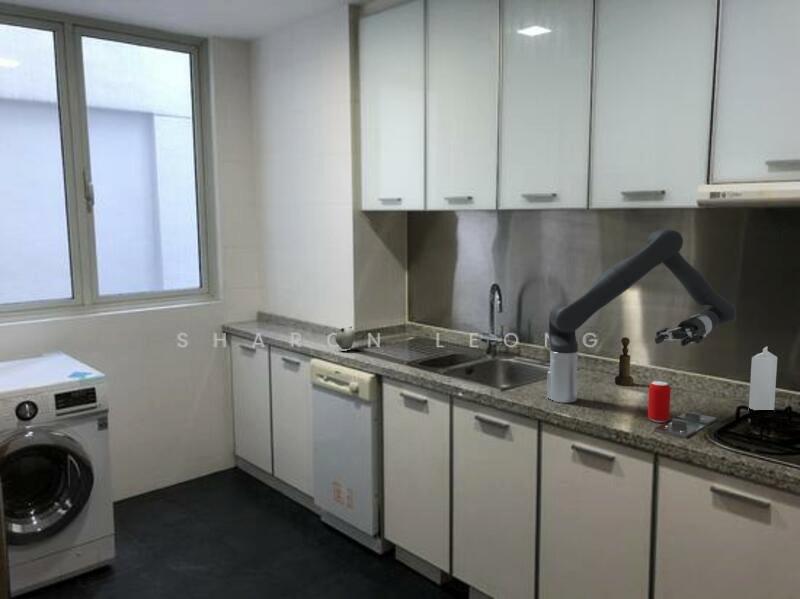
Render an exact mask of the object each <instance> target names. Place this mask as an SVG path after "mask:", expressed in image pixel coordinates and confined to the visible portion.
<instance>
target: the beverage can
mask: <svg viewBox="0 0 800 599" xmlns="http://www.w3.org/2000/svg"><path fill="white" fill-rule="evenodd" d="M671 392H672V390H671V387H670V385H669V383H668V382H666V381H660V380H659V381H658V380H654V381H652V382H651V383H650V384H649V386H648V404H647V406H648V408H647V418H648V420H651V421H652V422H653V423H657V424H658V423H660V424H661V423H662V424H664V423H666V422H668V421H670V410H671V407H670V406H671Z"/></svg>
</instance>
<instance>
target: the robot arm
mask: <svg viewBox="0 0 800 599" xmlns="http://www.w3.org/2000/svg"><path fill="white" fill-rule="evenodd" d="M646 244H647V245H646V246H645V247H644V248H643V249H641V250H640V251H638V252H637V253H635V254H633V255H631V256H628V257H626V258H624V259H623V260H620V261H618V262H617V263H615V264H614V265H612V266H611V267H609V268H608V269H607V270H606V271H604V272H603V273H601V274H600V275H599V276H598V277H597V278H596V279H595V280H594V281H593V283H592V284H591V285H590V286H589V288H588V289H587V291H586V292H585V293H583V294H582V295H581V296H580V297H578V298H577V299H575V300H574V301H572V302H571V303H569V304H566V303H560V304H557V305H555V306H554V307H552V309H551V311H550V312H549V315H548V316H549V318H548V341H549V345H550V346H549V347H550V350H549V351H550V353H549V356H550V357H549V362H550V364H549V367H550V368H549V371H547V375H546V376H547V377H546V379H547V380H546V382H547V383H546V384H547V385H546V399H548V398H549V399H548V400H550V399H551V400H550V401H552V400H553V401H552V402H556V403H573V402H574V403H575V402H577V401H578V400H577V396H578V394H577V393H578V368H579V367H578V362H579V361H578V358H579V343H578V340H577V337H576V331H577V330H578V329H579V328H580V327H581V326H583V324H585V323H586V322H587V321H588V320H589V319H590V318H591V317H592V316H593V315H594V314H595V313H597V312H598V311H599V310H601V309H602V308H604V307H605V306H607V305H608V304H609V303H610V302H613V300H615V299H616V298H618V297H619V296H620V295H622V294H623V293H624V292H626V291H627V290H628V289H630V288H632V286H633V285H634V284H636V283H637V282H638V281H640V280H641V279H643V277H645V276H646V275H647V274H648V273H649V272H650V271H652V270H653V269H654V268H656V267H657V266H659V265H661V264H663V265H664V266H665V267H666V268H667V269H668V270H669V271H670V272H671V273H672V274H673V275H674V276H675V277H676V279H677V280H678V281H679V282H680V284H681V285H682V286H683V288H684V289H685V290H686V292H687V293H688V295H690V297H691V298H692V299H693V300H694V303H696V304H697V305H698V306H709V307H706V308H705V309H703V310H701V311H700V312H699V313H697V314H693V315H691V316H690V317H688V318H686V319H683V320H682V321H680V322H679V323H678V325H677V327H675V328H672V329H669V327H664V328H662V329H660V330H658V331H656V332H655V334H656V336H655V337H654V342H655V344H661V343H662V342H665V341H669V342H672V341H680V346H682V347H685V346H687V345H689V344H694V342H695V344H700V343H702V342H703V341H704V340H706V339H707V335H708V334H709V333H711V332H713V331H714V330H715V329H717V328H718V326H721V325H725V324H727V323H730V322H733V321H734V320H736V318H737V310H736V308H735V306H734V305H733V304H732V303H731V302H730V301H729V300H727V299H726V298H725V297H723V296H722V295H721V294H719V293H718V292H717V291H716V290H714V288H713V287H712V286H711V284H710V283H709V282H708V280H707V279H706V278H705V277H704V275H702V273H700V272H699V271H698V270H697V269H696V268H694V267H693V266H692V265H691V263H689V262H688V261H687V260H686V259H685V258H684V257H683V255H682V254H681V253H680V251H681V249H682V248H683V244H684V238H683V236H682V234H681V233H680V232H678V231H677V230H673V229H668V228H667V229H660V230H655V231H653V232H651V233H650V234H649V236H648V239H647V242H646Z"/></svg>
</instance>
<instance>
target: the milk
mask: <svg viewBox="0 0 800 599" xmlns="http://www.w3.org/2000/svg"><path fill="white" fill-rule="evenodd" d="M768 347H769V346H765V347H764V348H762V352H761V353H756V355H753V356H752V357H751V368H750V381H749V382H750V385H749V399H748V402H749V403H748V409H749V408H750V409H753V410H774V411H775V403H776V401H775V400H776V399H775V398H776V388H777V387H776V384H777V383H776V382H777V369H778V368H777V367H778V356H776V355H775V354H773V353H772V352H770V351H768V349H769V348H768Z"/></svg>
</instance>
